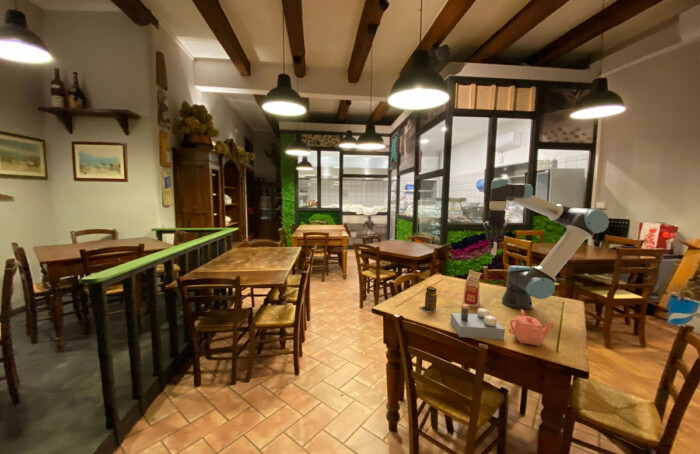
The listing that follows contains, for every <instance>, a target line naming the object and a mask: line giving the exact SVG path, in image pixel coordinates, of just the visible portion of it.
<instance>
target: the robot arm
mask: <svg viewBox="0 0 700 454" xmlns="http://www.w3.org/2000/svg"><path fill="white" fill-rule="evenodd" d="M533 194H534V187H533V186H532V184H530V183H510V182H509V179H505V178H497V179H496V178H495V179H493V180H491V184H490V196H489V210H488V218H487V221H485V222H482V226H483V227H484V233H485V238H486V241H488V242H489V249H491V250H490V255H491V256H497V252H498V251H497V250H498V249H499V246H500V243H502V242H504V239H505V237H506V234H507V231H508V228H509V227H510V226H511V225H510V223H508V222H507V221H506V212H507V211H506V209H507V202H512V203H514V204H516V205H519V206H521V207H524V208H526V209H528V210H530V211H533V212H535V213H538V214H540V215H543V216H545V217H547V218H548V219H549V220H550V221H552V222H554V223H557V224H558V225H561V226H564V227H565V228H566V231H565V232H564V234H563V235H562V236H561V237H560V238H559V240H558V241H557V242H556V243H555V245H554V246H553V247H552V248H551V250H550V251H548V254H547V255H546V256H545V257H544V258H543V260H542V261H541V262H540V263H539V265H538V266H527V265H509V267H508V269H507V279H506V288H505V289H506V290H505V292H504V293H503V296H502V298H501V303H502V304H503V305H504V306H507V307H509V308H513V309H516V310H521V309H522V310H523V311H525V310H531V309H532V308H533V303H532V302H533V301H532V298H535V299H538V300H544V299H548V298H550V297H551V296H552V295H554V293H555V290H556V289H555V288H556V285H555V283H556V281H557V278H556V276H557V275H558V274H559V272H561V270H562V268H563V267H564V266H565V265H566V264H567V262H568V261H569V260H570V259H571V258H572V256H573V255H574V254H575V253H576V252H577V250H578V249H579V248H580V247H581V246H582V245H583V243H584V241H585V240H588V239H589V240H590V239H592V237H594V235H595V234H599V233H604V231H606V230H607V229H608V227H609V225H610V224H609V223H610V221H609V215H608V214H607V212H605V211H604V210H602V209H599V208H592V207H591V208H587V207H586V208H585V207H575V206H565V205H563V204H560V203H559V204H555V203H553V202H550V201H548V200H545V199H542V198H541V197H538V196H535V195H533ZM502 226H503V227H502ZM531 297H532V298H531Z"/></svg>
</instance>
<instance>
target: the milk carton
mask: <svg viewBox="0 0 700 454" xmlns="http://www.w3.org/2000/svg"><path fill="white" fill-rule="evenodd" d="M482 275H483V273H482V272H477V271H474V270H472V269H468V274H467V278H466V281H465V284H464V288H463V299H462V300H463V301H462V304H467V305H469V307H477V308H479V306H480V304H481V303H480V302H481V301H480V287H481V286H480V278H481V276H482Z"/></svg>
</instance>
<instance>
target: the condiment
mask: <svg viewBox="0 0 700 454" xmlns="http://www.w3.org/2000/svg"><path fill="white" fill-rule="evenodd" d="M425 291H426V292H425V294H424V295H425V298H424V306H420V307H419V309H420V310H422V311H424V312H426V313H428V314H429V313H434V312H437V311H439V310H440V309H439V308H437V298H438V293H437V288H436V287H434V286H428V287H426V290H425Z"/></svg>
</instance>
